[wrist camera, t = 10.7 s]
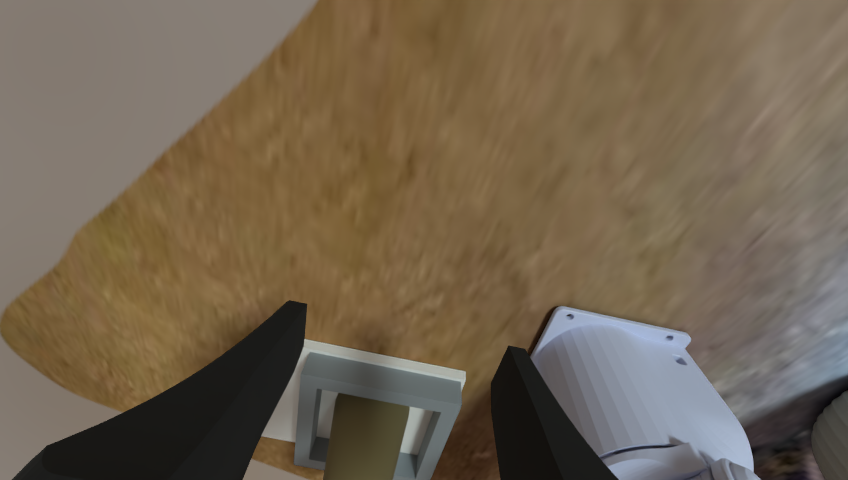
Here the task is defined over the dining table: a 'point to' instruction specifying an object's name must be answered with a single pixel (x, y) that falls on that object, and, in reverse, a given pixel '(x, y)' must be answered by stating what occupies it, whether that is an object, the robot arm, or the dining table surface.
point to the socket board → (375, 379)
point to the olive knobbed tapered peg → (364, 439)
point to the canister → (832, 439)
